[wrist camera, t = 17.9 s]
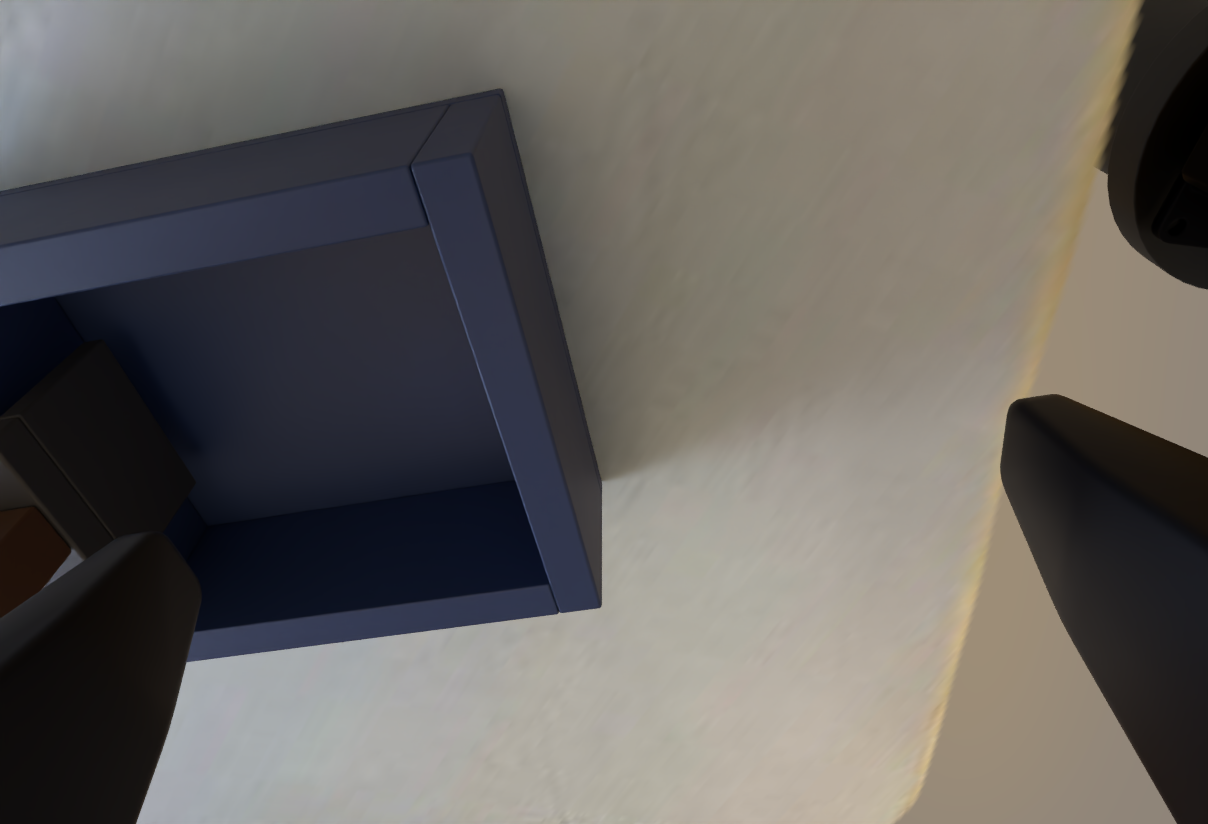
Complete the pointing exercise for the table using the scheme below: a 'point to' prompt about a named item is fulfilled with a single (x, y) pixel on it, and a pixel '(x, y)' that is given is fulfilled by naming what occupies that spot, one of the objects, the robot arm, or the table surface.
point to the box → (331, 370)
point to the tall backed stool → (80, 472)
